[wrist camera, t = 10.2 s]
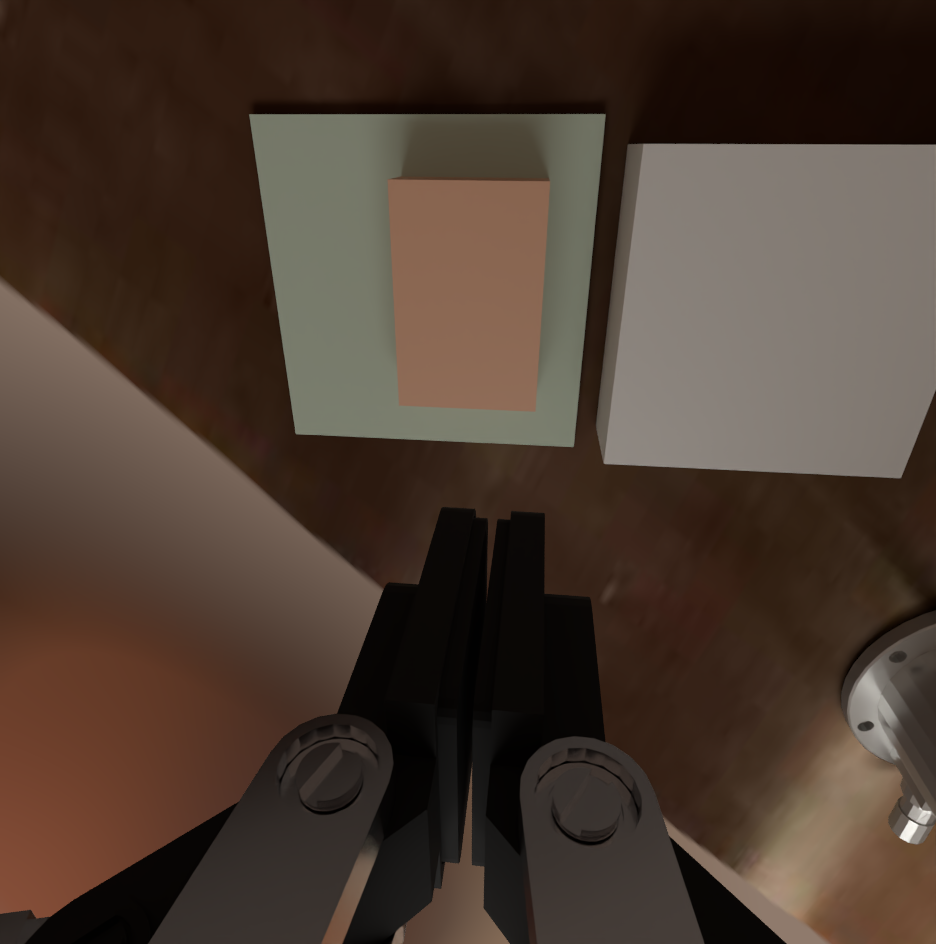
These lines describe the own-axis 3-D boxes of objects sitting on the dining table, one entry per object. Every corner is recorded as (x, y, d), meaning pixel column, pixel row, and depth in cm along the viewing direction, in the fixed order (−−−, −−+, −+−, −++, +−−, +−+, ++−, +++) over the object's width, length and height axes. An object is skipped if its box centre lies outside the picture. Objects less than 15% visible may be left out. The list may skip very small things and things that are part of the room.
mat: (573, 443, 30) (573, 446, 29) (298, 430, 31) (295, 434, 31) (604, 114, 23) (605, 114, 23) (253, 114, 24) (249, 114, 24)
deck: (855, 436, 28) (900, 478, 25) (595, 425, 29) (603, 463, 26) (954, 145, 23) (1031, 144, 19) (627, 144, 24) (643, 144, 20)
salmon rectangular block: (398, 405, 27) (409, 386, 29) (535, 411, 26) (535, 391, 28) (387, 179, 22) (400, 176, 25) (550, 181, 22) (549, 178, 24)
